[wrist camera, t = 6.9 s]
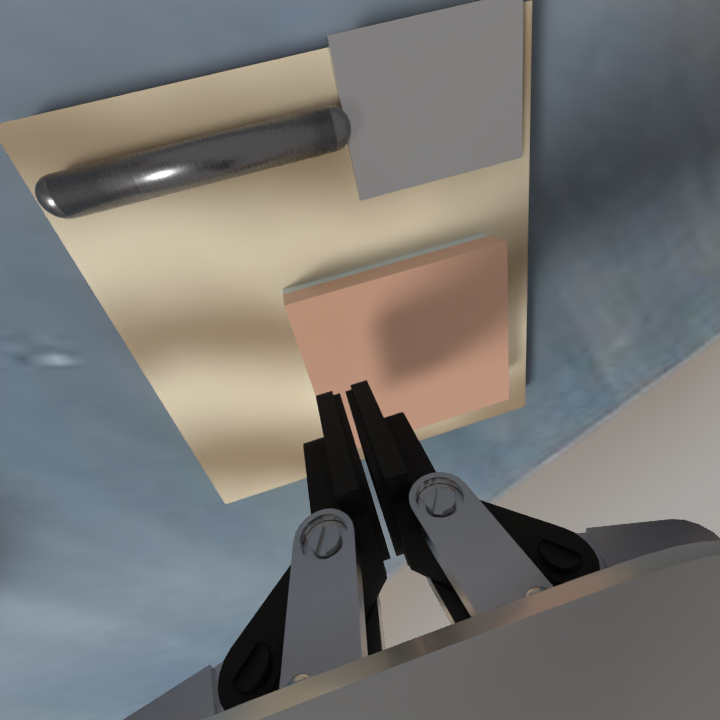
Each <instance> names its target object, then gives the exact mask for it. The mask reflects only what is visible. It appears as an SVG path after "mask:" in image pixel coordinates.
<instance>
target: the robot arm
mask: <svg viewBox="0 0 720 720" xmlns="http://www.w3.org/2000/svg"><path fill="white" fill-rule="evenodd" d="M350 386H351V390H348V391H345V392H346V396H347V399H348V403H349V406H350V409H351V413H352V416H353V420H354V423H355V426H356V430H357V433H358V437H359V440H360V443H361V447H362V450H363V454H364V457H365V460H366V463H367V466H368V469H369V472H370V476H371V479H372V482H373V485H374V488H375V491H376V494H377V497H378V500H379V503H380V506H381V509H382V513H383V516H384V519H385V522H386V525H387V528H388V531H389V534H390V537H391V540H392V543H393V547H394V550H395V553H396V556H399V555H401V554H404V555H405V558H406V561H407V564H408V566H409V565H410V568H411V570H413V571H416V572H418V573H420V574H422V575H424V576H426V577H427V580H428V582H429V585H430V587H431V588H432V590H433V592H434V594H435V596H436V598H437V599H438V601H439V603H440V605H441V607H442V608H443V610H444V612H445V614H446V616H447V618H448V619H449V621H450V623H451V625H450V626H447V627H444V628H441V629H439V630H436V631H433V632H431V633H428V634H425V635H423V636H420V637H418V638H415V639H412V640H409V641H407V642H404V643H401V644H399V645H396V646H394V647H391V648H388V649H385V639H384V631H383V622H382V613H381V603H380V598H379V593H380V591H381V589H382V587H383V585H384V583H385V581H386V579H387V575H386V574H387V573H386V569H385V566H384V562H383V561H384V560H387V559H390V555H389V552H388V548H387V545H386V542H385V538H384V535H383V532H382V529H381V525H380V522H379V519H378V515H377V512H376V509H375V505H374V502H373V499H372V496H371V492H370V489H369V486H368V482H367V479H366V476H365V473H364V469H363V466H362V463H361V460H360V456H359V453H358V450H357V447H356V443H355V440H354V437H353V434H352V430H351V427H350V424H349V421H348V417H347V414H346V411H345V408H344V404H343V401H342V398H341V395H340V393H338V394H335V395H333V392H332V391H329V392H326V393H323V394H320V395H316V401H317V406H318V411H319V416H320V421H321V426H322V431H323V436H324V437H322V438H319V439H316V440H313V441H310V442H306V443H304V444H303V450H304V458H305V467H306V475H307V484H308V492H309V500H310V509H311V515H310V516H308V517H307V518H306V519H305V520H304V521H303V522H302V523H301V524H300V526H299V528H298V529H297V531H296V533H295V537H294V541H293V550H292V560H291V565H290V567H289V568H288V569H287V571H286V572H285V574H284V575H283V576H282V578H281V579H280V581H279V582H278V583H277V585H276V586H275V588H274V589H273V590H272V592H271V593H270V594H269V596H268V597H267V599H266V600H265V601H264V603H263V604H262V606H261V607H260V608H259V610H258V611H257V613H256V614H255V615H254V617H253V618H252V620H251V621H250V622H249V624H248V625H247V627H246V628H245V629H244V631H243V632H242V634H241V635H240V636H239V638H238V639H237V640H236V642H235V643H234V645H233V646H232V647H231V649H230V651H229V652H228V654H227V656H226V658H225V659H224V661H223V662H222V663H220V664H218V665H217V666H215V667H214V668H213V667H212V666H211V665H208V666H207V667H205V668H203V669H202V670H200V671H199V672H197V673H196V674H194V675H193V676H191V677H189V678H188V679H186V680H185V681H183V682H182V683H180V684H178V685H177V686H175V687H174V688H172V689H171V690H169V691H167V692H166V693H164V694H163V695H161V696H160V697H158V698H156V699H155V700H153V701H152V702H150V703H149V704H147V705H145V706H144V707H142V708H141V709H139V710H138V711H136V712H134V713H133V714H131V715H130V716H128V717H127V718H125V719H123V720H720V538H719V537H718V536H717V535H715V533H713V532H712V531H710V530H708V529H706V528H704V527H703V526H701V525H699V524H696V523H693V522H690V521H687V520H678V519H669V520H658V521H649V522H639V523H631V524H621V525H611V526H602V527H592V528H586V533H577V534H576V533H574V532H572V531H570V530H567V529H565V528H562V527H559V526H556V525H554V524H551V523H548V522H544V521H542V520H539V519H535V518H532V517H529V516H526V515H523V514H520V513H517V512H514V511H511V510H508V509H505V508H502V507H499V506H496V505H493V504H490V503H487V502H484V501H481V500H479V499H478V498H477V496H476V495H475V494H474V493H473V492H472V490H471V489H470V488H469V487H468V486H467V485H466V483H464V482H463V481H462V480H461V479H460V478H459V477H457V476H454V475H452V474H449V473H444V472H436V471H435V470H434V468H433V466H432V464H431V462H430V460H429V458H428V457H427V455H426V453H425V451H424V449H423V447H422V445H421V444H420V442H419V440H418V438H417V436H416V434H415V432H414V431H413V429H412V427H411V425H410V423H409V421H408V420H407V418H406V416H405V414H404V413H403V412H400V413H397V414H394V415H391V416H388V417H385V418H384V417H383V415H382V412H381V410H380V408H379V406H378V404H377V401H376V399H375V397H374V395H373V392H372V390H371V388H370V386H369V384H368V381H367V380H365V381H362V382H358V383H355V384H352V385H350Z"/></svg>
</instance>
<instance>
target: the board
mask: <svg viewBox="0 0 720 720" xmlns="http://www.w3.org/2000/svg"><path fill="white" fill-rule="evenodd" d="M531 45H532V0H531V1H526V2H523V75H522V158H518V159H515V160H511V161H507V162H503V163H500V164H496V165H492V166H489V167H485V168H481V169H477V170H474V171H470V172H466V173H462V174H459V175H455V176H451V177H448V178H444V179H440V180H436V181H433V182H429V183H425V184H422V185H418V186H414V187H410V188H407V189H403V190H399V191H395V192H392V193H388V194H384V195H381V196H377V197H373V198H369V199H366V200H362V201H360V200H359V199H358V194H357V189H356V184H355V179H354V174H353V169H352V165H351V160H350V155H349V150H348V145H346V146H345V147H344V148H343V149H341V150H339V151H337V152H333V153H329V154H325V155H321V156H317V157H313V158H309V159H305V160H301V161H298V162H294V163H290V164H286V165H282V166H278V167H274V168H270V169H266V170H262V171H258V172H255V173H251V174H247V175H243V176H239V177H235V178H231V179H227V180H223V181H219V182H215V183H212V184H208V185H204V186H200V187H196V188H192V189H188V190H184V191H180V192H176V193H172V194H169V195H165V196H161V197H157V198H153V199H149V200H145V201H141V202H137V203H133V204H129V205H126V206H122V207H118V208H114V209H110V210H106V211H102V212H98V213H94V214H90V215H86V216H82V217H79V218H74V219H63V218H59V217H56V216H54V215H52V214H50V213H49V212H47V211H46V210H45V209H44V208H43V207H42V206H41V205H40V204H39V202H38V200H37V198H36V195H35V186H36V183H37V181H38V180H39V179H40V178H41V177H42V176H44V175H47V174H50V173H54V172H58V171H62V170H66V169H70V168H74V167H78V166H82V165H86V164H91V163H95V162H99V161H103V160H107V159H111V158H115V157H119V156H123V155H127V154H131V153H136V152H140V151H144V150H148V149H152V148H156V147H160V146H164V145H168V144H172V143H176V142H180V141H185V140H189V139H193V138H197V137H201V136H205V135H209V134H213V133H217V132H221V131H225V130H229V129H234V128H238V127H242V126H246V125H250V124H254V123H258V122H262V121H266V120H270V119H274V118H279V117H283V116H287V115H291V114H295V113H299V112H303V111H307V110H311V109H315V108H319V107H323V106H329V105H333V106H337V107H339V108H340V106H339V101H338V96H337V91H336V86H335V81H334V76H333V71H332V66H331V61H330V56H329V51H328V48H323V49H319V50H315V51H310V52H306V53H302V54H297V55H293V56H289V57H284V58H280V59H276V60H271V61H267V62H263V63H258V64H254V65H250V66H245V67H241V68H237V69H233V70H228V71H224V72H220V73H215V74H211V75H207V76H202V77H198V78H194V79H189V80H185V81H181V82H176V83H172V84H168V85H163V86H159V87H155V88H150V89H146V90H142V91H137V92H133V93H129V94H125V95H120V96H116V97H112V98H107V99H103V100H99V101H94V102H90V103H86V104H81V105H77V106H73V107H68V108H64V109H60V110H55V111H51V112H47V113H42V114H38V115H34V116H30V117H25V118H21V119H17V120H12V121H8V122H4V123H0V143H1V144H2V146H3V147H4V149H5V151H6V152H7V154H8V156H9V157H10V159H11V160H12V162H13V164H14V165H15V167H16V168H17V170H18V172H19V173H20V175H21V176H22V178H23V180H24V181H25V183H26V184H27V186H28V188H29V189H30V191H31V192H32V194H33V196H34V197H35V199H36V200H37V202H38V204H39V205H40V207H41V209H42V210H43V212H44V213H45V215H46V217H47V218H48V220H49V221H50V223H51V225H52V226H53V228H54V229H55V231H56V233H57V234H58V236H59V237H60V239H61V241H62V242H63V244H64V245H65V247H66V249H67V250H68V252H69V254H70V255H71V257H72V258H73V260H74V262H75V263H76V265H77V266H78V268H79V270H80V271H81V273H82V274H83V276H84V278H85V279H86V281H87V282H88V284H89V286H90V287H91V289H92V290H93V292H94V294H95V295H96V297H97V298H98V300H99V302H100V303H101V305H102V307H103V308H104V310H105V311H106V313H107V315H108V316H109V318H110V319H111V321H112V323H113V324H114V326H115V327H116V329H117V331H118V332H119V334H120V335H121V337H122V339H123V340H124V342H125V343H126V345H127V347H128V348H129V350H130V352H131V353H132V355H133V356H134V358H135V360H136V361H137V363H138V364H139V366H140V368H141V369H142V371H143V372H144V374H145V376H146V377H147V379H148V380H149V382H150V384H151V385H152V387H153V388H154V390H155V392H156V393H157V395H158V397H159V398H160V400H161V401H162V403H163V405H164V406H165V408H166V409H167V411H168V413H169V414H170V416H171V417H172V419H173V421H174V422H175V424H176V425H177V427H178V429H179V430H180V432H181V433H182V435H183V437H184V438H185V440H186V441H187V443H188V445H189V446H190V448H191V450H192V451H193V453H194V454H195V456H196V458H197V459H198V461H199V462H200V464H201V466H202V467H203V469H204V470H205V472H206V474H207V475H208V477H209V478H210V480H211V482H212V483H213V485H214V486H215V488H216V490H217V491H218V493H219V495H220V496H221V498H222V499H223V501H224V503H225V504H228V503H231V502H234V501H237V500H240V499H243V498H246V497H249V496H252V495H255V494H258V493H262V492H265V491H268V490H271V489H274V488H277V487H280V486H283V485H286V484H289V483H292V482H295V481H298V480H301V479H304V478H307V475H306V467H305V458H304V450H303V444H304V443H306V442H310V441H313V440H316V439H319V438H322V437H324V436H323V431H322V426H321V421H320V416H319V411H318V406H317V401H316V396H315V393H314V390H313V387H312V384H311V381H310V379H309V376H308V373H307V370H306V367H305V364H304V361H303V359H302V356H301V353H300V350H299V347H298V344H297V341H296V338H295V336H294V333H293V330H292V327H291V324H290V321H289V318H288V315H287V313H286V310H285V307H284V300H283V290H282V289H286V288H289V287H293V286H296V285H300V284H303V283H307V282H310V281H314V280H317V279H321V278H324V277H328V276H331V275H335V274H338V273H342V272H345V271H349V270H353V269H356V268H360V267H363V266H367V265H370V264H374V263H377V262H381V261H384V260H388V259H391V258H395V257H398V256H402V255H405V254H409V253H412V252H416V251H419V250H423V249H427V248H430V247H434V246H437V245H441V244H444V243H448V242H451V241H455V240H458V239H462V238H465V237H469V236H472V235H476V234H479V233H483V234H486V235H489V236H492V237H495V238H498V239H501V240H504V241H507V268H508V360H509V399H508V400H505V401H502V402H499V403H496V404H493V405H489V406H486V407H483V408H480V409H477V410H474V411H471V412H468V413H465V414H462V415H459V416H456V417H453V418H449V419H446V420H443V421H440V422H437V423H434V424H431V425H428V426H425V427H422V428H419V429H416V430H413V431H414V432H415V434H416V436H417V438H418V440H419V441H420V440H423V439H426V438H429V437H432V436H435V435H438V434H441V433H444V432H448V431H451V430H454V429H457V428H460V427H463V426H466V425H469V424H472V423H475V422H478V421H481V420H484V419H487V418H490V417H493V416H496V415H499V414H502V413H505V412H509V411H512V410H515V409H518V408H521V407H524V406H525V384H526V327H527V271H528V214H529V158H530V101H531ZM357 450H358V453H359V456H360V460H362V459H365V457H364V454H363V450H362V447H360V448H357Z"/></svg>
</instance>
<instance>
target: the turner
mask: <svg viewBox="0 0 720 720" xmlns="http://www.w3.org/2000/svg"><path fill="white" fill-rule="evenodd" d="M326 42H327V47H328V51H329V56H330V61H331V66H332V71H333V76H334V81H335V86H336V91H337V96H338V101H339V106H340V108H339V107H337V106H333V105H329V106H323V107H319V108H315V109H311V110H307V111H303V112H299V113H295V114H291V115H287V116H283V117H279V118H274V119H270V120H266V121H262V122H258V123H254V124H250V125H246V126H242V127H238V128H234V129H229V130H225V131H221V132H217V133H213V134H209V135H205V136H201V137H197V138H193V139H189V140H185V141H180V142H176V143H172V144H168V145H164V146H160V147H156V148H152V149H148V150H144V151H140V152H136V153H131V154H127V155H123V156H119V157H115V158H111V159H107V160H103V161H99V162H95V163H91V164H86V165H82V166H78V167H74V168H70V169H66V170H62V171H58V172H54V173H50V174H47V175H44V176H42V177H41V178H40V179H39V180H38V181H37V183H36V186H35V195H36V198H37V200H38V202H39V204H40V205H41V206H42V207H43V208H44V209H45V210H46V211H47V212H49V213H50V214H52V215H54V216H56V217H59V218H63V219H74V218H79V217H82V216H86V215H90V214H94V213H98V212H102V211H106V210H110V209H114V208H118V207H122V206H126V205H129V204H133V203H137V202H141V201H145V200H149V199H153V198H157V197H161V196H165V195H169V194H172V193H176V192H180V191H184V190H188V189H192V188H196V187H200V186H204V185H208V184H212V183H215V182H219V181H223V180H227V179H231V178H235V177H239V176H243V175H247V174H251V173H255V172H258V171H262V170H266V169H270V168H274V167H278V166H282V165H286V164H290V163H294V162H298V161H301V160H305V159H309V158H313V157H317V156H321V155H325V154H329V153H333V152H337V151H339V150H341V149H343V148H344V147H345V146H346V145H348V150H349V155H350V160H351V165H352V169H353V174H354V179H355V184H356V189H357V194H358V199H359V200H360V201H362V200H366V199H369V198H373V197H377V196H381V195H384V194H388V193H392V192H395V191H399V190H403V189H407V188H410V187H414V186H418V185H422V184H425V183H429V182H433V181H436V180H440V179H444V178H448V177H451V176H455V175H459V174H462V173H466V172H470V171H474V170H477V169H481V168H485V167H489V166H492V165H496V164H500V163H503V162H507V161H511V160H515V159H518V158H522V75H523V0H480V1H476V2H472V3H467V4H463V5H459V6H454V7H450V8H446V9H441V10H437V11H432V12H428V13H424V14H419V15H415V16H411V17H406V18H402V19H397V20H393V21H389V22H384V23H380V24H376V25H371V26H367V27H362V28H358V29H354V30H349V31H345V32H341V33H336V34H332V35H328V36H327V37H326Z"/></svg>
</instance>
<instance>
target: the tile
mask: <svg viewBox="0 0 720 720" xmlns="http://www.w3.org/2000/svg"><path fill="white" fill-rule="evenodd" d="M282 290H283V300H284V307H285V310H286V313H287V315H288V318H289V321H290V324H291V327H292V330H293V333H294V336H295V338H296V341H297V344H298V347H299V350H300V353H301V356H302V359H303V361H304V364H305V367H306V370H307V373H308V376H309V379H310V381H311V384H312V387H313V390H314V393H315V396H316V395H320V394H323V393H326V392H329V391H332V392H333V395H335V394H338V393H340V395H341V398H342V401H343V404H344V408H345V411H346V414H347V417H348V421H349V424H350V427H351V430H352V434H353V437H354V440H355V443H356V447H357V448H360V447H361V443H360V440H359V437H358V433H357V430H356V426H355V423H354V420H353V416H352V413H351V409H350V406H349V403H348V399H347V396H346V392H345V391H348V390H351V386H350V385H352V384H355V383H358V382H362V381H365V380H367V381H368V384H369V386H370V388H371V390H372V392H373V395H374V397H375V399H376V401H377V404H378V406H379V408H380V410H381V412H382V415H383V417H384V418H385V417H388V416H391V415H394V414H397V413H400V412H403V413H404V414H405V416H406V418H407V420H408V421H409V423H410V425H411V427H412V429H413V430H416V429H419V428H422V427H425V426H428V425H431V424H434V423H437V422H440V421H443V420H446V419H449V418H453V417H456V416H459V415H462V414H465V413H468V412H471V411H474V410H477V409H480V408H483V407H486V406H489V405H493V404H496V403H499V402H502V401H505V400H508V399H509V360H508V268H507V241H504V240H501V239H498V238H495V237H492V236H489V235H486V234H483V233H479V234H476V235H472V236H469V237H465V238H462V239H458V240H455V241H451V242H448V243H444V244H441V245H437V246H434V247H430V248H427V249H423V250H419V251H416V252H412V253H409V254H405V255H402V256H398V257H395V258H391V259H388V260H384V261H381V262H377V263H374V264H370V265H367V266H363V267H360V268H356V269H353V270H349V271H345V272H342V273H338V274H335V275H331V276H328V277H324V278H321V279H317V280H314V281H310V282H307V283H303V284H300V285H296V286H293V287H289V288H286V289H282Z"/></svg>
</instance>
